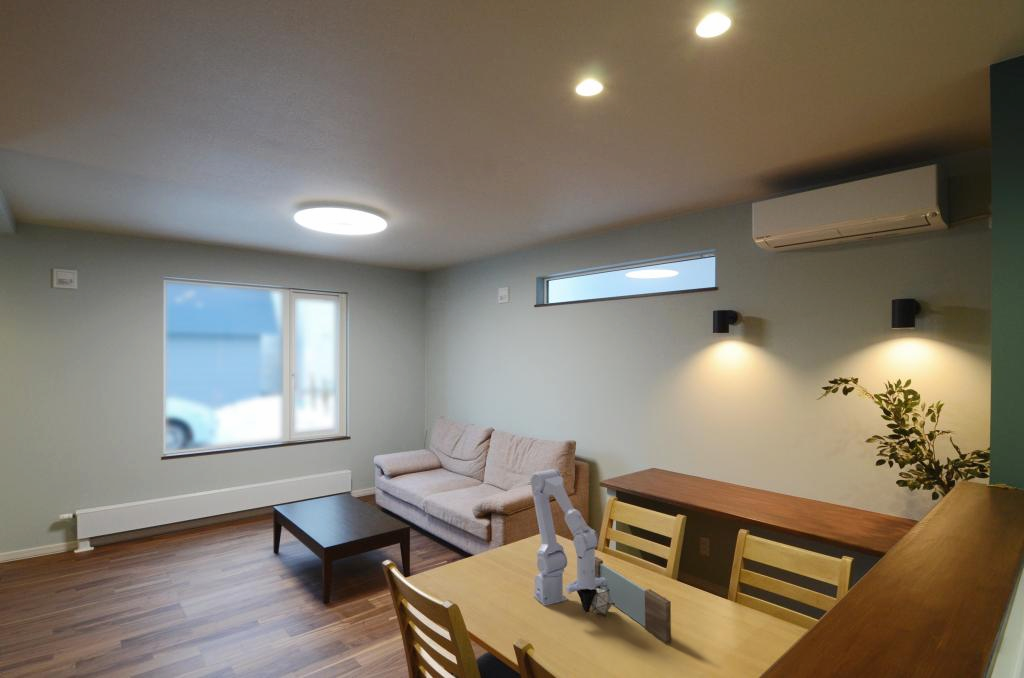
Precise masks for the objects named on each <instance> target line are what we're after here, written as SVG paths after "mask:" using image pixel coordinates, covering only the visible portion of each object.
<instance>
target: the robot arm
mask: <svg viewBox="0 0 1024 678" xmlns="http://www.w3.org/2000/svg"><path fill="white" fill-rule="evenodd" d="M529 480H530V486H531V492H532V497H533V502H534V507H535V509H534V510H535V513H536V520H537V524H538V528H539V529H538V530H539V535H540V536H539V537H540V541H541V546H540V547H539V549H537V551H536V557H537V558H536V559H537V560H536V566H537V568H538V571H539V574H536V575H535V577H534V594H533V597H534V598H535V599H536V600H537V601H538V602H539V603H540V604H542V605H543V606H544V607H545V606H550V605H554V604H558V603H562V602H565V601H568V597H566V595H564V593H563V591H564V590H563V588H564V585H563V583H564V582H563V581H564V580H563V575H564V574H563V573H564V572H565V569H566V567H567V566H568V557H567V554H566V552H565V550H564V546H563V545H561V544H560V543H559V542H558V541H557V536H556V530H555V525H554V520H553V514H552V509H551V503H550V499H549V497H550V496H551V495H552V496H553V497H554V499H555V500H556V502H557V503H558V505H559V507H560V508H561V510H562V511H563V513H564V517H563V518H564V521H565V523H566V525H567V527H568V529H569V530H570V532H571V535H572V536H573V539H572V542H573V545H574V548H575V554H576V556H577V557H576V562H577V563H576V564H577V566H576V567H577V568H576V570H577V575H576V577H577V579H576V580H575V581H572V582H571V583H569V584H566V585H565V592H566V593H568V595H569V594H572V593H574V592H577V594H578V597H579V599H580V602H581V607H582V611H583V612H584V613H590V612H591V604H592V601H593V598H594V596H595V595H596V589H595V587H596V586H600V585H603V586H604V585H606V579H605V578H603V577H600V578H595V557H596V551H595V550H596V549H595V548H596V547H598V545H599V536H598V534H597V531H595V530H594V529H592V528H591V527H590V526H588V524H587V523H586V521H585V519H584V517H583V516H582V513H581V512H580V511H579V510H578V509H575V508H574V506H573V503H572V501H571V500H570V498H569V496H568V494H567V491H566V489H565V488H564V478H563V476H562V474H561V471H559V469H557V468H552V469H547V470H541V471H535V472H533V474H532V476H531V477H530V479H529Z"/></svg>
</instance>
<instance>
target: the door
mask: <svg viewBox="0 0 1024 678" xmlns="http://www.w3.org/2000/svg"><path fill="white" fill-rule="evenodd" d="M600 577H603V578H605V579H606V585H604V586H603V585H600V589H603V590H606V591H608V589H610V591H608V592H609V595H610V597H611V600H612V603H615V605H614V606H615V607H616V608H618V609H619V610H620V611H621V612H623V613H624V614H625V615H626V616H628V617H630V618H632V619H633V620H634V621H636V623H638V624H640V625H641V626H643V627H644V628H645V590H646V589H645V588H643V587H642V586H640V585H639V584H637V583H635V582H634V581H632V580H630V579H629V578H627V577H626V576H624V575H622V574H621V573H619V572H618V571H616V570H614V569H612V567H610V566H607V565H606V564H604V562H603V563H601V564H600Z"/></svg>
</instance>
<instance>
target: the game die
mask: <svg viewBox="0 0 1024 678" xmlns="http://www.w3.org/2000/svg"><path fill="white" fill-rule="evenodd" d="M595 589H596V595H595V596H594V598H593V601H592V604H591V607H590V609H591V610H590V613H591V614H593V612H595V613H599V614H601V615H604V617H605V618H607V613H608V611H609V610H610V608H611V607H612V606H613V605H614V606H615V603H612V600H611V597H610V595H609V592H608V591H610V589H608V591H606V590H603V589H599V588H596V587H595Z"/></svg>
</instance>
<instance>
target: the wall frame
mask: <svg viewBox="0 0 1024 678" xmlns="http://www.w3.org/2000/svg"><path fill="white" fill-rule="evenodd" d="M601 563H603V564H604V560H603V559H601V558H599V557H598V556H595V578H600V564H601ZM596 588H599V589H600V586H596ZM671 602H672V601H671V600H668V599H667V598H666V597H664V596H662V595H660V594H659V593H657V592H655V591H654V590H652V589H651V588H649V589H645V627H644V629H645V630H646V631H647V632H648V633H650V634H651V635H652V636H654V637H655V638H656V639H658V640H659V641H660V642H662V643H663V644H664V645H669V644H672V617H671V616H672V614H671V613H672V611H671V607H672V606H671V605H672V604H671Z"/></svg>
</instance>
